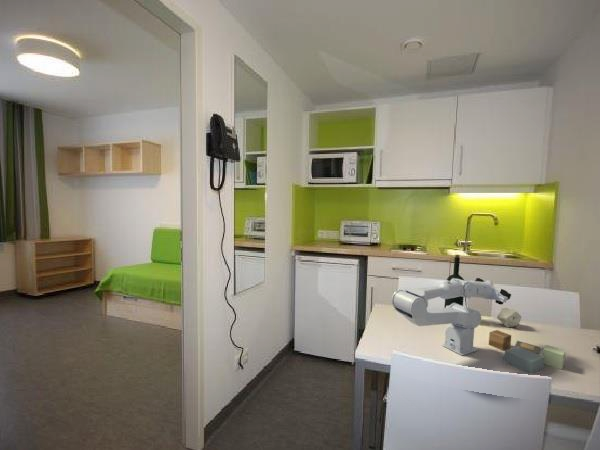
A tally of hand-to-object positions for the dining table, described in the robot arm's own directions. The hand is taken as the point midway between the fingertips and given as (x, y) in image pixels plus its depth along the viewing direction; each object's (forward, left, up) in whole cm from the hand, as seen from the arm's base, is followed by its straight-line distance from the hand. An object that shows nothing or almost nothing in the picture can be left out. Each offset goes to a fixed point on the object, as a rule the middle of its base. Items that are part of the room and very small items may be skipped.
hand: (499, 291), depth 115 cm
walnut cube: (-5, -4, -19) cm, 20 cm away
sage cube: (-1, -19, -19) cm, 27 cm away
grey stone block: (+20, +6, -20) cm, 29 cm away
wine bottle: (+5, +21, -19) cm, 29 cm away
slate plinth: (-11, -15, -20) cm, 27 cm away
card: (+4, -9, -19) cm, 22 cm away
